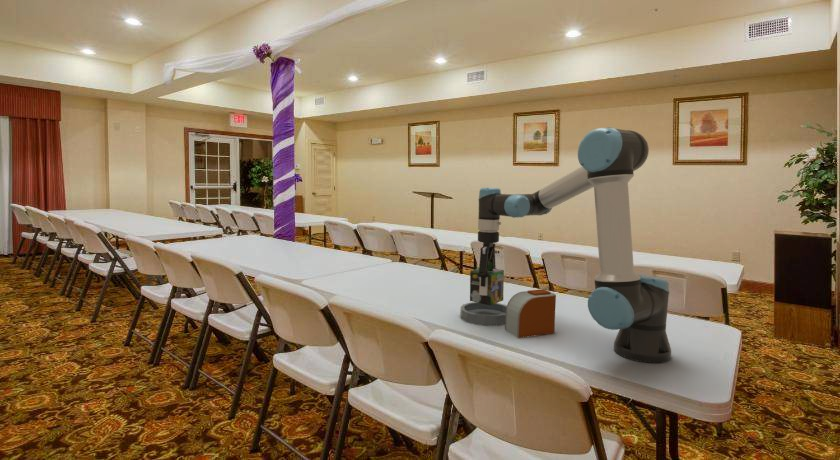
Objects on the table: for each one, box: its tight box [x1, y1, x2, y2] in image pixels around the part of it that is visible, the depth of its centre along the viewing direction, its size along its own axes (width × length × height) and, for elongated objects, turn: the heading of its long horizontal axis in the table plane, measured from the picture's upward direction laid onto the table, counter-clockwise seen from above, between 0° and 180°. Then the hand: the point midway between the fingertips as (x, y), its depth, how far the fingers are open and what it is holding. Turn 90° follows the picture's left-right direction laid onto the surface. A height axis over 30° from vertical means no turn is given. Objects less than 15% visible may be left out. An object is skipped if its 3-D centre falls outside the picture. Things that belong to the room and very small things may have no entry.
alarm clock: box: [504, 288, 557, 339], centre depth 154 cm, size 15×8×14 cm, turn 111°
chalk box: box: [469, 262, 505, 306], centre depth 168 cm, size 9×9×15 cm
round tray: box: [459, 301, 507, 327], centre depth 169 cm, size 18×18×3 cm
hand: (486, 291), depth 168 cm, fingers closed on chalk box, 10 cm apart
